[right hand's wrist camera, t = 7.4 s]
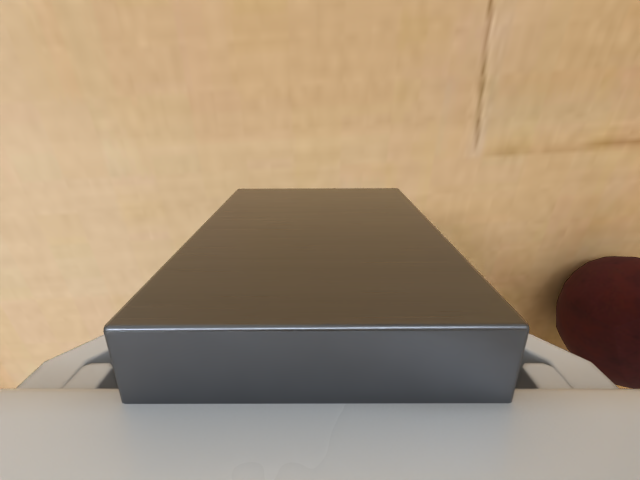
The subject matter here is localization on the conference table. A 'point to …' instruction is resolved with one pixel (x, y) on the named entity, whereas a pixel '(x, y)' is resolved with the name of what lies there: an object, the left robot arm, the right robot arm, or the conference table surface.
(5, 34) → the conference table surface
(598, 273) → the potato
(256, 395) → the bar
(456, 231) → the conference table surface
